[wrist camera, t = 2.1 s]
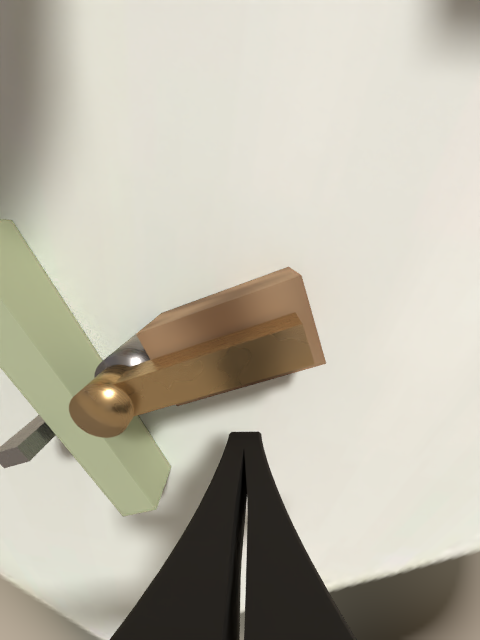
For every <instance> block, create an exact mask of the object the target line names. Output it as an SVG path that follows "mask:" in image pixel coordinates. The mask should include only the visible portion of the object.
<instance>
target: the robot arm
mask: <svg viewBox="0 0 480 640" xmlns="http://www.w3.org/2000/svg"><path fill="white" fill-rule="evenodd" d="M247 499H248V528H247V567H246V600H245V633H244V640H357V639H356V638H355V636H354V635H353V633H352V631H351V630H350V628H349V626H348V624H347V623H346V621H345V619H344V618H343V616H342V615H341V613H340V611H339V609H338V608H337V606H336V604H335V603H334V601H333V599H332V597H331V595H330V594H329V592H328V590H327V588H326V586H325V585H324V583H323V581H322V579H321V577H320V576H319V574H318V572H317V570H316V569H315V567H314V565H313V563H312V561H311V559H310V558H309V556H308V554H307V552H306V550H305V548H304V546H303V544H302V542H301V540H300V538H299V536H298V534H297V532H296V530H295V528H294V526H293V524H292V522H291V519H290V517H289V515H288V513H287V511H286V508H285V506H284V504H283V501H282V499H281V497H280V494H279V492H278V489H277V487H276V484H275V482H274V479H273V476H272V473H271V471H270V468H269V465H268V462H267V458H266V455H265V452H264V448H263V443H262V438H261V433H259V432H231V433H230V434H229V438H228V441H227V444H226V447H225V450H224V453H223V455H222V458H221V460H220V463H219V465H218V467H217V470H216V472H215V474H214V476H213V479H212V481H211V483H210V485H209V487H208V489H207V491H206V493H205V495H204V497H203V499H202V501H201V503H200V505H199V507H198V509H197V510H196V512H195V514H194V516H193V518H192V519H191V521H190V523H189V525H188V526H187V528H186V530H185V531H184V533H183V535H182V536H181V538H180V540H179V541H178V543H177V544H176V546H175V548H174V549H173V551H172V552H171V554H170V556H169V557H168V559H167V560H166V562H165V563H164V565H163V566H162V568H161V569H160V571H159V572H158V574H157V575H156V577H155V578H154V580H153V581H152V582H151V584H150V585H149V587H148V588H147V590H146V591H145V592H144V594H143V595H142V597H141V598H140V600H139V601H138V602H137V604H136V605H135V607H134V608H133V609H132V611H131V612H130V613H129V615H128V616H127V618H126V619H125V620H124V622H123V623H122V624H121V625H120V627H119V628H118V629H117V631H116V632H115V633H114V635H113V636H112V637H111V639H110V640H239V631H240V628H239V627H240V581H241V560H242V548H243V536H244V524H245V512H246V500H247Z"/></svg>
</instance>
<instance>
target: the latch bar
mask: <svg viewBox="0 0 480 640" xmlns="http://www.w3.org/2000/svg"><path fill="white" fill-rule="evenodd" d="M314 364H315V363H314V360H313V357H312V353H311V350H310V347H309V343H308V340H307V337H306V333H305V330H304V327H303V324H302V322H301V321H300V319H299V317H298V316H297V314H296V313H295V312H294V313H291V314H288V315H285V316H282V317H279V318H276V319H273V320H270V321H267V322H264V323H261V324H258V325H254V326H251V327H248V328H245V329H242V330H239V331H236V332H233V333H230V334H227V335H224V336H221V337H218V338H215V339H212V340H209V341H206V342H203V343H200V344H197V345H194V346H191V347H188V348H185V349H182V350H179V351H176V352H173V353H170V354H167V355H164V356H161V357H158V358H155V359H152V360H149V361H145V362H142V363H139V364H136V365H133V366H130V367H129V366H126V365H112V366H109V367H107V368H105V369H104V370H103V371H102V372H101V373H100V374H99V375H97V376H96V377H95V378H94V379H93V380H92V381H91V382H89V383H88V384H87V385H86V386H85V387H84V388H83V389H81V390H80V391H79V392H78V393H77V394H76V395H75V396H74V397H73V398H72V399H71V401H70V403H69V413H70V416H71V418H72V420H73V421H74V423H75V424H76V425H77V426H78V427H79V428H80V429H82V430H83V431H85V432H86V433H88V434H91V435H93V436H96V437H102V438H110V437H115V436H118V435H120V434H121V433H122V432H123V431H124V430H125V429H126V428H127V426H128V425H129V423H130V422H131V420H132V419H133V417H134V416H137V415H140V414H144V413H147V412H151V411H154V410H158V409H161V408H164V407H168V406H171V405H175V404H178V403H182V402H185V401H189V400H192V399H196V398H199V397H203V396H206V395H210V394H213V393H216V392H220V391H223V390H227V389H230V388H234V387H237V386H241V385H244V384H248V383H251V382H255V381H258V380H262V379H265V378H268V377H272V376H275V375H279V374H282V373H286V372H289V371H293V370H296V369H300V368H303V367H307V366H310V365H314Z"/></svg>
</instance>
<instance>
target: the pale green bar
mask: <svg viewBox="0 0 480 640" xmlns="http://www.w3.org/2000/svg"><path fill="white" fill-rule="evenodd" d="M101 362H102V359H101V358H100V356H99V355H98V353H97V351H96V350H95V348H94V347H93V345H92V344H91V342H90V341H89V339H88V337H87V336H86V334H85V333H84V331H83V330H82V328H81V327H80V325H79V324H78V322H77V320H76V319H75V317H74V316H73V314H72V313H71V311H70V310H69V308H68V307H67V305H66V303H65V302H64V300H63V299H62V297H61V296H60V294H59V293H58V291H57V290H56V288H55V286H54V285H53V283H52V282H51V280H50V279H49V277H48V276H47V274H46V273H45V271H44V269H43V268H42V266H41V265H40V263H39V262H38V260H37V259H36V257H35V256H34V254H33V252H32V251H31V249H30V248H29V246H28V245H27V243H26V242H25V240H24V238H23V237H22V235H21V234H20V232H19V231H18V229H17V228H16V226H15V225H14V223H13V221H12V220H2V219H0V368H1V369H2V370H3V371H4V373H5V374H6V375H7V376H8V377H9V379H10V380H11V381H12V382H13V383H14V385H15V386H16V387H17V388H18V390H19V391H20V392H21V393H22V394H23V396H24V397H25V398H26V399H27V400H28V402H29V403H30V404H31V405H32V407H33V408H34V409H35V410H36V411H37V413H38V414H39V415H40V416H41V417H42V419H43V420H44V421H45V422H46V424H47V425H48V426H49V427H50V428H51V430H52V431H53V432H54V433H55V434H56V436H57V437H58V438H59V439H60V441H61V442H62V443H63V444H64V445H65V447H66V448H67V449H68V450H69V452H70V453H71V454H72V455H73V456H74V458H75V459H76V460H77V461H78V462H79V464H80V465H81V466H82V467H83V469H84V470H85V471H86V472H87V473H88V475H89V476H90V477H91V478H92V479H93V481H94V482H95V483H96V484H97V486H98V487H99V488H100V489H101V490H102V492H103V493H104V494H105V495H106V496H107V498H108V499H109V500H110V501H111V503H112V504H113V505H114V506H115V507H116V509H117V510H118V511H119V512H120V513H121V515H122V516H128V515H133V514H137V513H142V512H147V511H152V510H156V509H157V506H158V503H159V500H160V498H161V495H162V492H163V489H164V486H165V483H166V480H167V478H168V475H169V472H170V469H171V466H170V464H169V463H168V461H167V460H166V458H165V457H164V455H163V454H162V452H161V450H160V449H159V447H158V446H157V444H156V443H155V441H154V440H153V438H152V436H151V435H150V433H149V432H148V430H147V429H146V427H145V426H144V424H143V423H142V421H141V419H140V418H139V416H138V415H137V416H134V417H133V419H132V420H131V422H130V423H129V425H128V426H127V428H126V429H125V430H124V431H123V432H122V433H121V434H120V435H118V436H115V437H110V438H102V437H96V436H93V435H91V434H88V433H86V432H85V431H83V430H82V429H80V428H79V427H78V426H77V425H76V424H75V423H74V421H73V420H72V418H71V416H70V413H69V403H70V401H71V399H72V398H73V397H74V396H75V395H76V394H77V393H78V392H79V391H80V390H81V389H83V388H84V387H85V386H86V385H87V384H88V383H89V382H91V381H92V380H93V379H94V375H95V371H96V368H97V366H98V365H99V364H100V363H101Z"/></svg>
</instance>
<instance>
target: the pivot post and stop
mask: <svg viewBox="0 0 480 640" xmlns="http://www.w3.org/2000/svg"><path fill="white" fill-rule="evenodd" d="M149 360H150V358H149V356H148V354H147V353H146V351H145V349H144V347H143V346H142V344H141V342H140V340H139V338H138V337H137V335H136V334H135V335H134V336H133V337H131V338H130V339H129V340H128V341H127V342H125V343H124V344H123V345H122V346H120V347H119V348H118V349H117V350H116V351H114V352H113V353H112V354H111V355H109V356H108V357H107V358H106V359H105V360H103V361H102V362H101V363H100V364H99V365H98V366H97V368H96V371H95V375H94V378H95V377H96V376H97V375H99V374H100V373H101V372H102V371H103V370H104V369H105V368H107V367H109V366H112V365H126V366H129V367H130V366H133V365H136V364H139V363H142V362H145V361H149ZM55 435H56V434H55V433H54V432H53V431H52V430H51V428H50V427H49V426H48V425H47V424H46V422H45V421H44V420H43V419H42V417H41V416H40V415H38V416H37V417H36V418H35V419H33V420H32V421H31V422H30V423H29V424H27V425H26V426H25V427H24V428H22V429H21V430H20V431H19V432H18V433H16V434H15V435H14V436H13V437H12V438H10V439H9V440H8V441H7V442H6V443H4V444H3V445H2V446H1V447H0V464H1V465H2V466H3V467H4V468H7V467H10V466H14V465H17V464H21V463H25V462H28V461H30V460H31V459H32V458H33V457H34V456H35V455H36V454H37V453H38V452H39V451H40V450H41V449H42V448H43V447H44V446H45V445H46V444H47V443H48V442H49V441H50V440H51V439H52V438H53V437H54V436H55Z"/></svg>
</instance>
